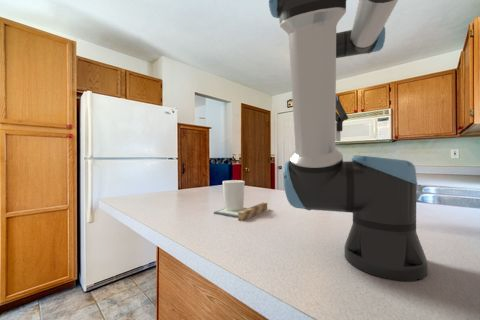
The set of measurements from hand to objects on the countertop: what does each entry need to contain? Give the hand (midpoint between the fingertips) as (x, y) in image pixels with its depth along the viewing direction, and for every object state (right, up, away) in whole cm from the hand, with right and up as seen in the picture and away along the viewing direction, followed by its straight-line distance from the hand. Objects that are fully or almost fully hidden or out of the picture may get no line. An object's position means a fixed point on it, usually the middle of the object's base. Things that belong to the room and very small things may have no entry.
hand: (320, 142), depth 84 cm
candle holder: (-34, -28, +12) cm, 46 cm away
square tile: (-33, -29, +9) cm, 45 cm away
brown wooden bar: (-25, -29, +5) cm, 39 cm away
